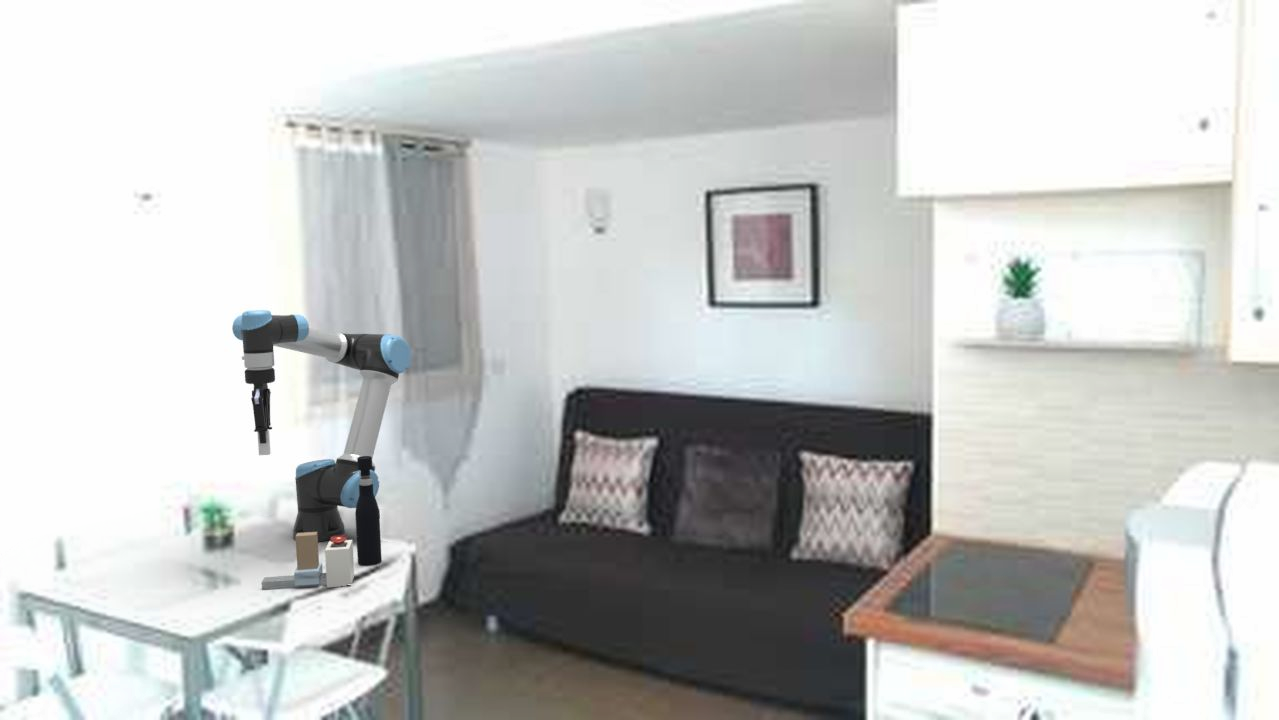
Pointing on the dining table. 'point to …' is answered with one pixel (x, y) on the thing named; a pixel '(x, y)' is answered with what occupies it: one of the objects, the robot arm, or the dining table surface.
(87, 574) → the dining table surface
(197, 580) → the dining table surface
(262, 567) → the dining table surface
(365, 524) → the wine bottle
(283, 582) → the rail
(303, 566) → the carriage
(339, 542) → the red mushroom push button
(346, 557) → the white button housing
